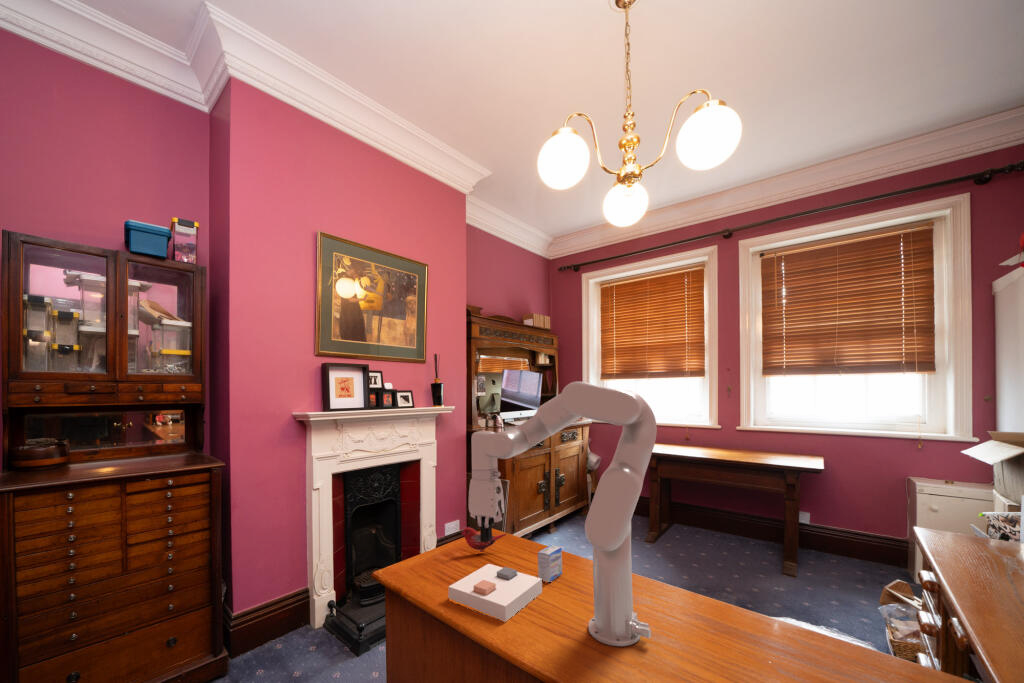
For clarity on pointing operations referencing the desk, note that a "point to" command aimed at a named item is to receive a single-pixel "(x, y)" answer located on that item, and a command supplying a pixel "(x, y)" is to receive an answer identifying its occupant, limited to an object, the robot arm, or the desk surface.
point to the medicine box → (550, 563)
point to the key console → (496, 592)
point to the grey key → (506, 573)
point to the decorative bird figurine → (478, 539)
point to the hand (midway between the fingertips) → (486, 540)
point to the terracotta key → (484, 587)
